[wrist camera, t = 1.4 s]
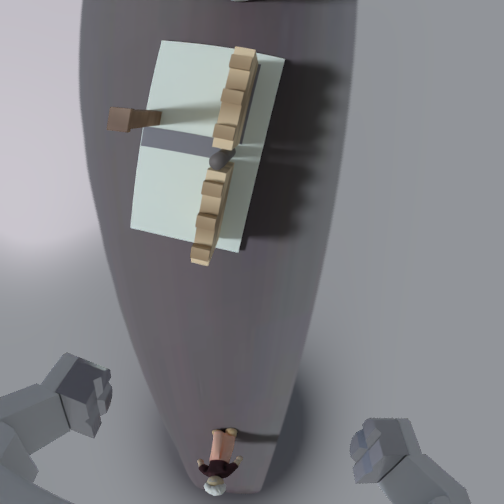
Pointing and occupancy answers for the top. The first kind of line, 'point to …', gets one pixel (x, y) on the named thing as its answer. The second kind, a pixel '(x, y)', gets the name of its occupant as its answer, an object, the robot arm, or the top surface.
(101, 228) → the top surface
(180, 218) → the card
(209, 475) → the grandmother figurine
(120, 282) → the top surface
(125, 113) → the corner post
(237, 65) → the fence fixed
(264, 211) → the top surface
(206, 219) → the notched wooden plank
